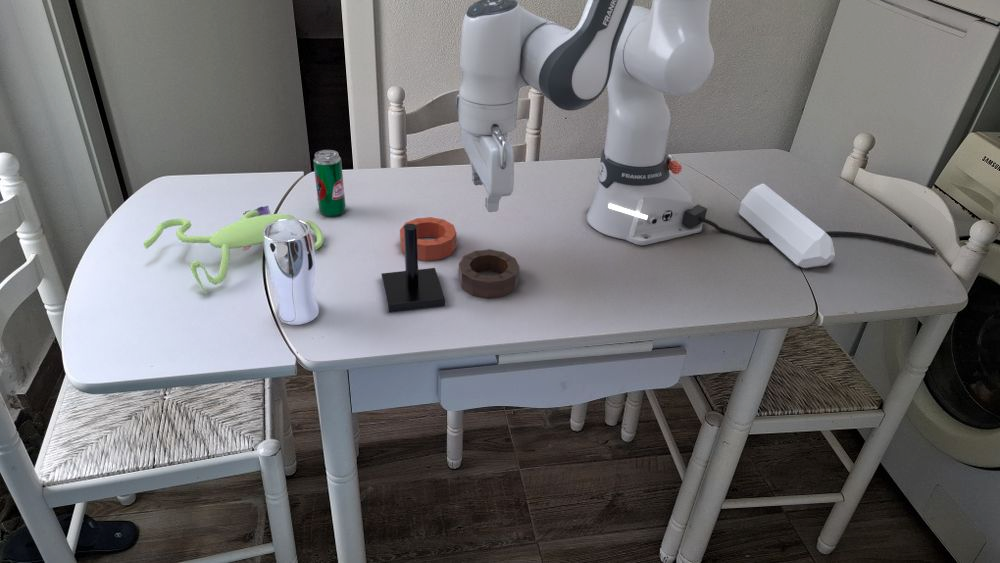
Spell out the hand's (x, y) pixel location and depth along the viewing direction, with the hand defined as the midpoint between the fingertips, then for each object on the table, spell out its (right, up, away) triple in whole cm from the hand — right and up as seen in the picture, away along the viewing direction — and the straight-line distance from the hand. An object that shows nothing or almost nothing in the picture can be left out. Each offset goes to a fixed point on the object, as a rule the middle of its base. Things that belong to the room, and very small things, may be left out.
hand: (484, 196), depth 111 cm
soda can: (-30, 0, +22) cm, 37 cm away
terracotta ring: (-10, -7, +13) cm, 18 cm away
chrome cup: (-29, -19, -5) cm, 35 cm away
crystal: (+57, -6, +21) cm, 61 cm away
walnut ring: (+1, -14, +5) cm, 15 cm away
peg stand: (-12, -16, +1) cm, 20 cm away
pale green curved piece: (-43, -9, +9) cm, 45 cm away
